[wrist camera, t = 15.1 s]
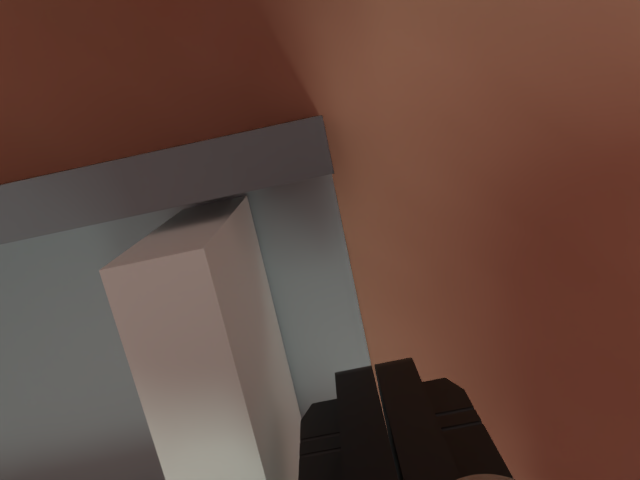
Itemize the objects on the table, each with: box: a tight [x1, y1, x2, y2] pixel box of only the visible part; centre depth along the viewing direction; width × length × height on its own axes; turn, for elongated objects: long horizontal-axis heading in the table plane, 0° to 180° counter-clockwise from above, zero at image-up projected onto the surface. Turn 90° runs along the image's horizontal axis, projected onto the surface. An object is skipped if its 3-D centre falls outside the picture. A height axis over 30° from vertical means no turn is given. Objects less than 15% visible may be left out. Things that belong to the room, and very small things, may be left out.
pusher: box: [99, 196, 301, 480], centre depth 11 cm, size 8×2×5 cm, turn 12°
